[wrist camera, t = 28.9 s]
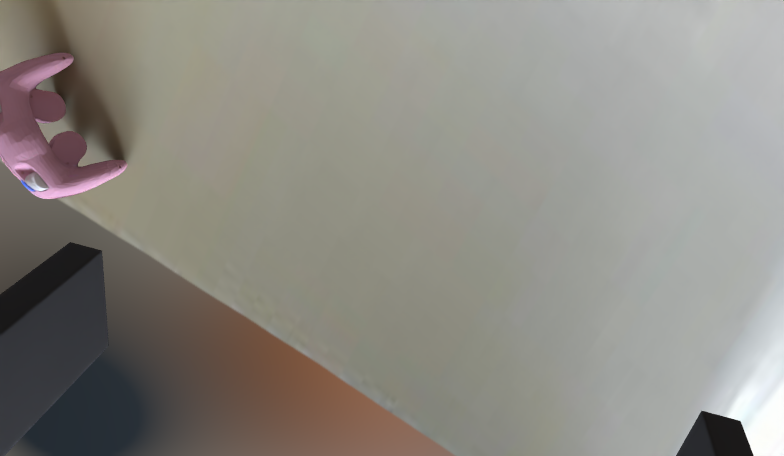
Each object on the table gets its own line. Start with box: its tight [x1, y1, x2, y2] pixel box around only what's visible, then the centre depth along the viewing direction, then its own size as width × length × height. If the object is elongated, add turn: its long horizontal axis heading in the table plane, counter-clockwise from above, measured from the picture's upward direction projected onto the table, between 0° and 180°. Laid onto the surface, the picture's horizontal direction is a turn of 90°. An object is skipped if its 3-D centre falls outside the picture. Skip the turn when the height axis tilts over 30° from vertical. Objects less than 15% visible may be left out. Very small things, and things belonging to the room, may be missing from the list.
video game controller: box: [0, 53, 127, 199], centre depth 46 cm, size 10×5×7 cm, turn 21°
